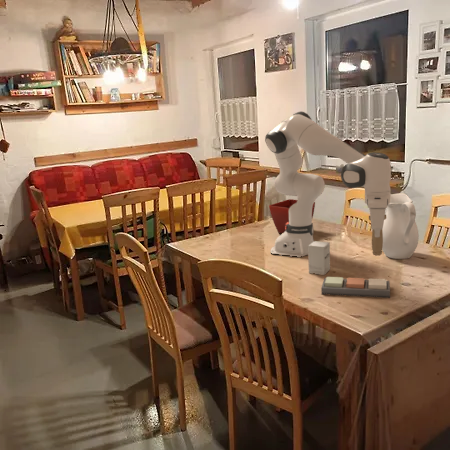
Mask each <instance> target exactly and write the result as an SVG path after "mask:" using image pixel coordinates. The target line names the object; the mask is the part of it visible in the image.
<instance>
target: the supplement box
mask: <svg viewBox="0 0 450 450" xmlns="http://www.w3.org/2000/svg"><path fill="white" fill-rule="evenodd" d="M313 241H314V242H312V243H311V244H310V245H309V246H308V255H307V256H308V273H309V274H313V273H315V274H314V275H320V276H321V275H322V276H325V275H326V274H328V272H329V271H330V270H331V251H330V242H328V241H316V240H313Z"/></svg>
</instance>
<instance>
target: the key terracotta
mask: <svg viewBox="0 0 450 450" xmlns="http://www.w3.org/2000/svg"><path fill="white" fill-rule="evenodd" d="M346 279H347V283H346V288H364V280H365V277H364V278H363V277H362V278H361V277H347V278H346Z"/></svg>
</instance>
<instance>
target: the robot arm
mask: <svg viewBox="0 0 450 450" xmlns="http://www.w3.org/2000/svg"><path fill="white" fill-rule="evenodd" d="M264 137H265V138H264V139H265V140H264V141H265V144H266V146H267V148H268V149H269V150H270V152H272V153H273V154H274V156H275V159H276V161H277V165H278V167H279V174H278V175H277V176H276V178H275V179H274V189H275V191H276V192H277V193H278V194H281V195H284V196H289V197H291V196H292V197H297V199H296V200H297V203H295V204H293V205H292V206H291V207H290V208H289V222H287V223H286V226H285V232H284V233H283V234H280V235H279V236H277V238H276V239H275V240H274V241H275V242H274V245H273V246H272V247H271V248H270V252H271V253H272V254H281V255H280V256H282V255H290V256H289V257H292V256H297V257H296V258H302V257H304V256H308V246H309V245H310V244H311V243H312V242H314V241H315V240H314V224H313V218H312V207H313V204H314V202H316V200H317V199H318V198H319V197H320V196H322V194H323V193H324V190H325V189H326V188H325V186H326V184H325V180H324V178H323V176H320V175H318V174H314V173H299V172H298V171H299V170H300V169H301V167H302V165H303V158H302V154H301V151H300V149H302V150H303V151H305V152H306V153H308V154H310V155H312V156H326V157H329V156H330V157H335V158H338V159H340V160H342V161H343V162H344V163H346V164H345V165H344V166H342V168H341V172H340V178H341V182H342V183H343V184H344V185H345V187H347V188H349V189H357V188H364V203H365V204H366V205H367V208H368V211H369V216H370V218H371V221H370V226H371V229H374V231H375V237H380V230H381V229H383V224H384V217H385V214H386V211H387V206H388V204H389V203H390V199H391V194H392V193H391V191H392V189H391V184H390V182H391V179H392V170H391V169H392V167H391V166H392V165H391V160H390V157H389V156H388V155H387V154H385V153H382V152H369V153H366V154H364V153H362V152H361V151H360V150H358V149H356V148H355V147H354V146H352V145H350V144H348V143H347V142H346V141H344V140H342V139H340V138H339V137H337V136H335V135H333V134H332V133H330V132H329V131H327V130H326V129H324V128H323V127H322V126H320V125H319V124H318V123H317V122H315V121H313V119H312V117H311V116H310V115H309V114H308V113H307V112H305V111H298V112H294V113H293V114H292V115H291V116H288V117H287V118H286V119H284V120H282V121H281V122H279V124H277V125H275V126H274V127H273V128H272V129H270V130H269V131H268V132H267V133H266V135H265V136H264ZM299 147H300V149H299ZM271 253H270V254H271ZM272 254H271V255H272ZM301 256H302V257H301Z"/></svg>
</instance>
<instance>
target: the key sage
mask: <svg viewBox="0 0 450 450" xmlns="http://www.w3.org/2000/svg"><path fill="white" fill-rule="evenodd" d="M325 278H326V281H325V287H343V279H344V277H343V276H341V277H340V276H326V277H325Z"/></svg>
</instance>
